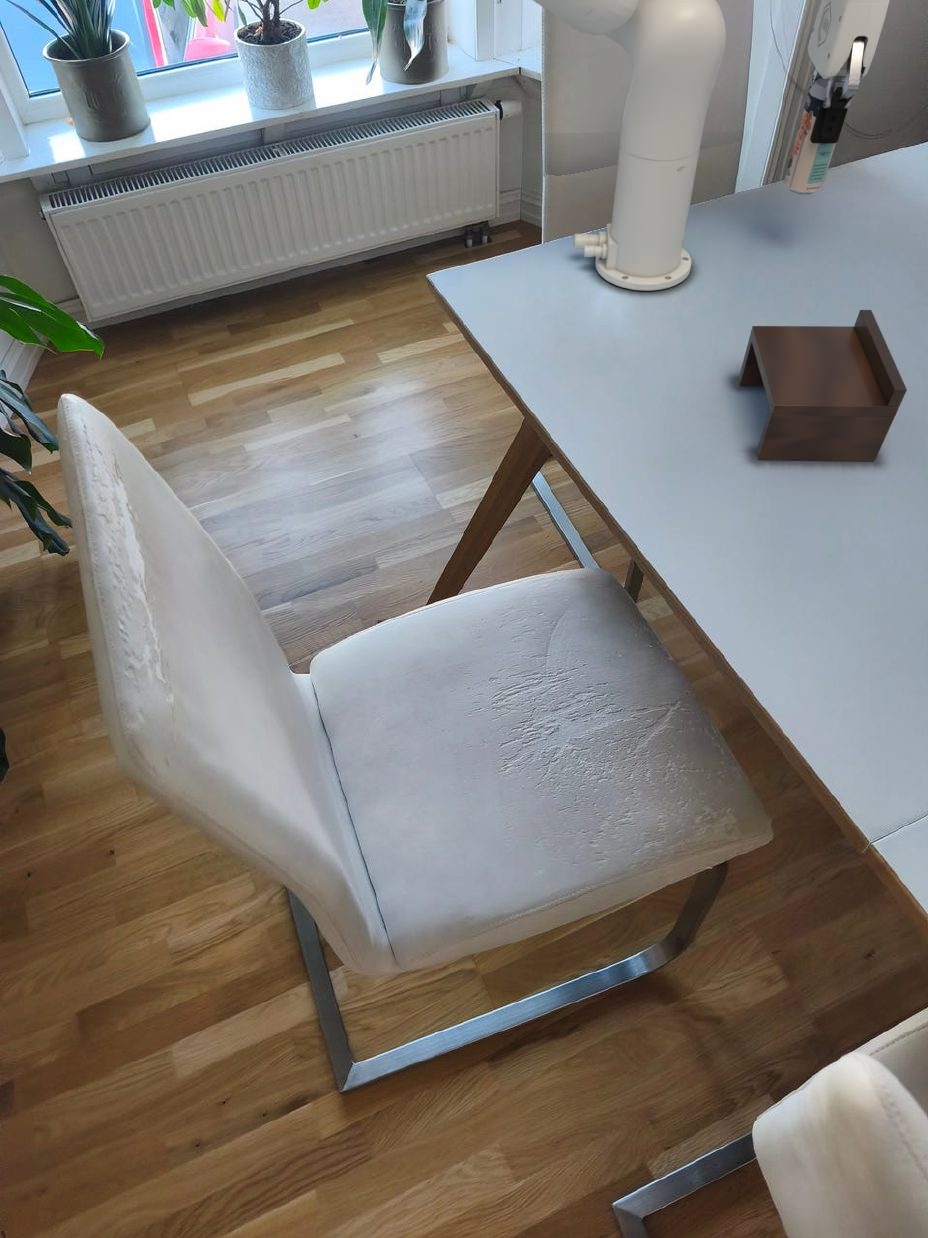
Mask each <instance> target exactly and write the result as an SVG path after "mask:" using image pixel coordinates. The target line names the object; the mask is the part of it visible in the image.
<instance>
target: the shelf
mask: <svg viewBox="0 0 928 1238" xmlns="http://www.w3.org/2000/svg"><path fill="white" fill-rule="evenodd" d="M737 380H738V385H739V386H740V387H764V391H765V394H766V398H767V402H768V406H769V411H768V414H767V415H766V416H767V417H766V420H765V423H764V427H763V429H762V432H761V436H760V439H759V442H758V446H757V449H756V452H755V454H756V456H757V457H756V458H757V460H758V461H803V462H804V461H807V462H809V461H810V462H811V461H812V462H813V461H814V462H874V463H875V461H876V459H877V457H878V455H879V452H880V450H881V448H882V446H883V444H884V442H885V439H886V437H887V435H888V432H889V431H890V428H891V427H892V424H893V421H894V420H895V417H896V415H897V414H898V412H899V408H900V406H901V404H902V402H903V399H904V397H905V396H906V393H907V391H908V389H907V387H906V384H905V381H904V380H903V378H902V375H901V373H900V371H899V369H898V367H897V364H896V362H895V360H894V357H893V355H892V353H891V351H890V349H889V347H888V344H887V342H886V339H885V337H884V335H883V333H882V330H881V328H880V325H879V324H878V322H877V320H876V316H875V315H874V313H873V311H872V309H860V310H859V311H858V315H857V317H856V320H855V323H854V325H853V326H851V325H849V326H846V325H845V326H839V325H835V326H833V325H831V326H830V325H826V326H825V325H820V326H819V325H803V326H802V325H752V326H751V330H750V334H749V338H748V342H747V345H746V350H745V353H744V356H743V360H742V364H741V368H740V372H739V376H738V379H737Z"/></svg>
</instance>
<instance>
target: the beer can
mask: <svg viewBox="0 0 928 1238" xmlns="http://www.w3.org/2000/svg"><path fill="white" fill-rule="evenodd" d="M828 80H829V78H828V79H823V78H819V79H818V80H817V81H815V83H814V84H813V86H812V85H811V86H812V87H811V88H810V87H809V88H810V90H809V89H808V92H809V93H808V92H807V95H808V96H806V99H807V100H806V99H805V103H806V104H805V103H804V106H805V107H804V106H803V110H804V111H803V110H802V113H803V114H802V113H801V117H802V118H800V122H799V126H798V129H797V133H796V136H795V140H794V144H793V148H792V151H791V154H790V158H789V162H788V166H787V169H786V173H785V176H784V180H783V183H784V186H785V187H786V188H787V190H789V191H790V192H791V193H794V194H798V195H804V196H806V195H807V196H808V195H812V194H815V193H818V192H820V191H821V190H822V189H823V188H824V184H825V180H826V178H827V174H828V172H829V168H830V164H831V161H832V158H833V155H834V152H835V148H836V146H837V143H838V141H837V142H836V143H834V144H829V143H812V142H811V141H810V137H811V133H812V130H813V126H814V123H815V120H816V116H817V113H818V109H819V106H820V105H823V103H824V98H825V94H826V89H827V84H828ZM843 83H844V82H836V83H835V88H834V92H835V90H836V89H837V88H838V87H842V84H843ZM834 92H833V93H834Z"/></svg>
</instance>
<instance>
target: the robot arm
mask: <svg viewBox="0 0 928 1238" xmlns="http://www.w3.org/2000/svg"><path fill="white" fill-rule="evenodd" d="M532 1H533V2H535V3H536V4H537V5H539V6H541V7H542V8H543V9H545V10H546V11H549V12H550V13H551V14H553V15H554V16H556V17H557V18H558V19H560V20H561V21H563V22H564V23H565V24H566V25H568V26H569V27H570V28H572V29H573V30H576V31H578V32H580V33H582V34H585V35H591V36H603V35H604V36H606V37H607V38H608V39H611V40H612V41H613V42H615V43H617V44H618V45H619V46H621V48H623V49H624V50H625V51H626V53H627V54H628V56H629V57H630V59H631V60H632V63H633V71H632V77H631V82H630V86H629V90H628V93H627V96H626V101H625V104H624V109H623V115H622V121H621V128H620V138H619V152H618V161H617V170H616V180H615V188H614V198H613V207H612V208H613V209H612V216H611V223H606V230H605V231H598V233H597V234H595V233H594V234H593V233H592V234H589V233H574V237H573V249H574V250H583V257H584V258H594V257H595V264H594V265H595V270H596V271H597V273H598V274H599V276H601V277H602V278H603V279H604V280H605V281H607V282H609V283H611V284H613V285H614V286H616V287H617V286H618V287H620V288H623V289H628V290H631V291H632V290H633V291H641V292H642V291H643V292H644V291H645V292H647V291H648V292H649V291H661V290H665V289H669V288H672V287H674V286H677V285H678V284H681V283H682V282H683V281H685V279H687V278H688V276H689V275H690V272H691V268H692V257H691V255H690V254H689V252H688V251H687V250H686V249H685V248H684V247H683V246H684V241H685V234H686V230H687V223H688V218H689V212H690V208H691V201H692V196H693V190H694V184H695V180H696V173H697V169H698V168H697V167H698V162H699V156H700V151H701V143H702V139H703V133H704V127H705V122H706V117H707V112H708V108H709V105H710V100H711V97H712V93H713V90H714V87H715V84H716V81H717V78H718V75H719V72H720V68H721V66H722V62H723V59H724V55H725V50H726V43H727V30H726V22H725V18H724V17H725V16H724V14H723V12H722V8H721V7H720V4H719V3H718V1H717V0H532ZM889 4H890V0H821V2H820V5H819V8H818V10H817V14H816V18H815V21H814V24H813V28H812V31H811V34H810V38H809V41H808V45H807V53H808V56H809V58H810V61H811V62H812V64H813V66H814V71H813V73H812V77H811V80H810V86H809V89H808V92H807V96H808V93H809V90H810V88H811V87H812V86H813V84H814V83H815V81H817V80H818V79H819V78H823V79H828V78H829V80H828V84H827V89H826V94H825V98H824V103H823V105H820V106H819V109H818V113H817V116H816V120H815V123H814V126H813V130H812V133H811V137H810V141H811V142H812V143H829V144H834V143H836V142H837V143H838V142H839V139H840V136H841V133H842V129H843V126H844V123H845V120H846V117H847V113H848V110H849V108H850V106H851V103H852V99H853V97H854V96H855V94H856V93H857V92H858V91H859V88H860V85H861V84H860V83H861V80H862V79H863V78H864V77H866V75H867V74H868V72H869V70H870V68H871V64H872V62H873V59H874V57H875V53H876V50H877V47H878V44H879V41H880V37H881V35H882V34H881V33H882V30H883V26H884V23H885V20H886V16H887V12H888V8H889ZM842 71H845V75H841V73H842ZM836 82H844V83H843V84H842V87H838V88H837V89H836V90H835V92H834V88H835V83H836ZM833 92H834V93H833ZM807 96H806V97H807ZM806 100H807V98H806V99H805V101H806ZM805 104H806V102H805V103H804V106H803V108H804V107H805ZM803 111H804V109H803V110H802V113H801V115H802V114H803ZM801 118H802V116H801ZM801 118H800V119H801ZM837 143H836V144H837Z"/></svg>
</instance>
